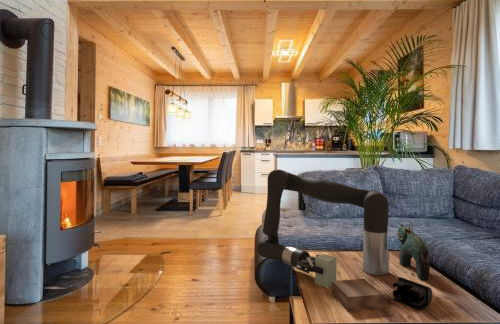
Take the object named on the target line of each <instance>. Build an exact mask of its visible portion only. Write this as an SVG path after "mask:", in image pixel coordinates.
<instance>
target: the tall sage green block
mask: <svg viewBox="0 0 500 324" xmlns="http://www.w3.org/2000/svg"><path fill="white" fill-rule="evenodd" d="M319 255H320V256H317V257H316V256H314V257H315V266H317V267H320V268H323V274H322V275H321V274H318V273H315V272H314V275H315V277H314V278H315V279H314V281H315V282H314V284H316V285H319V286H321V287H324V288H327V289H329V288H332V281H337V264H338V263H337V262H338V260H337V257H336V256H333V255H329V254H326V253H323V254H319Z"/></svg>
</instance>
